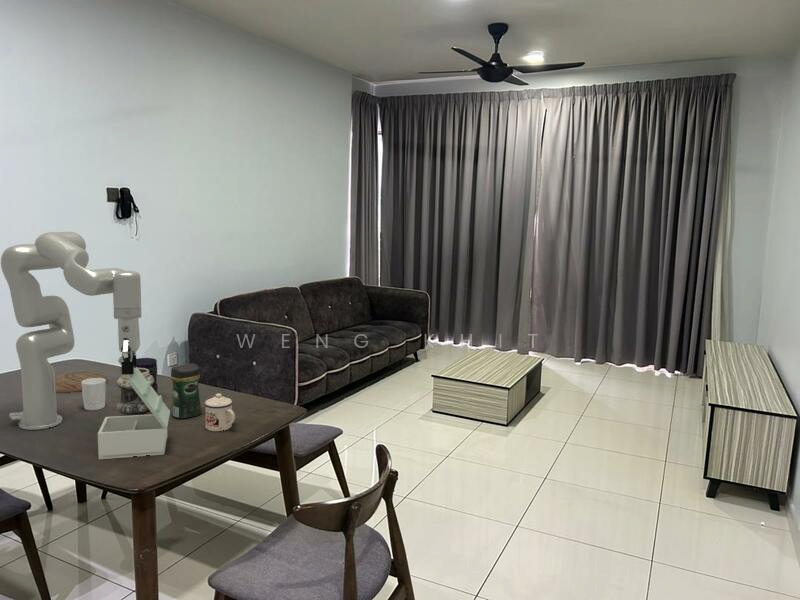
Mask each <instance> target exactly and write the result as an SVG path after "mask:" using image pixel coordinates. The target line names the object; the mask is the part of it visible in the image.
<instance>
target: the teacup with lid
mask: <svg viewBox="0 0 800 600" xmlns="http://www.w3.org/2000/svg"><path fill="white" fill-rule="evenodd" d="M232 405H233V400H232V399H231V398H229V397H225V396H222V393H216V394H215V396H213V397H211V398H209V399H206V400H205V401H204V406H205V408H204V410H205V411H204V412H205V414H204V415H205V419H204V420H205V421H204V422H205V423H204V424H205V429H207V431H210V432H223V430H224V431H226V430H229V429H231V428H232V424H233V423H234V422H235V419H236V414H235V411H234V410H233V406H232Z"/></svg>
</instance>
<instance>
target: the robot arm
mask: <svg viewBox="0 0 800 600" xmlns="http://www.w3.org/2000/svg"><path fill="white" fill-rule="evenodd" d="M34 241H35V242H34V243H25V244H17V245H12V246H9V247H7V248H6V249H5V250H4V251H3V252H2V255H1V256H0V268H1V272H2V273H3V274H2V275H3V276H4V279H5V280H6V282H7V286H8V288H9V291H10V298H11V303H12V307H13V312H14V316H15V320H16V322H17V324H18V325H19V326H20V327H22V328H36V327H40V326H41V327H42V326H47V325H48V326H49V328H45V329H38V330H33V331H30V332H29V331H28V332H25V333H23V334H21V335H19V337H18V338H17V340H16V343H15V349H16V353H17V356H18V360H19V364H20V375H21V376H20V377H21V388H22V390H21V391H22V392H21V393H22V407H23V410H22V411H19V412H9V415H8V417H9V419H11V421H17V420H18V421H19V422H18V427H19V428H21V429H23V430H26V431H27V430H29V431H31V430H32V431H34V430H37V431H38V430H45V429H49V427H50V428H52V427H55V426H59V425H60V424H61V423H62V422H63V416H62V415H60V414H58V413H57V412H58V409H57V394H56V385H55V375H56V372H55V368H54V367H53V365H52V364H51V363H50V362H49V360H48V359H49V358H54V357H58V356H63V355H65V354H69V353H70V352H71V351H72V350H73V349H74V347H75V334H74V329H73V324H72V320H71V314H70V310H69V306H68V305H67V303H66V301H65V300H64V299H63V298H62V297H60V296H59V295H46V296H45V295H44V296H43V293H42V291H41V284H40V283H39V281H38V279H36V278H37V277H35V275H33V274H32V273H31V272H30V271H40V270H51V269H52V270H53V269H58V268H60V269H61V270H63V271H62V272H63V273H62V274H63V276H64V277H63V278H64V279H65V281H66V283H67V285H69V287H71V288H72V289H74V290H76V291H78V292H79V293H81V294H83V295H86V296H89V297H90V296H91V297H94V296H100V295H109V294H112V296H113V299H112V300H113V318H114V319H115V320H117V329H118V330H117V334H118V335H117V336H118V337H117V338H118V339H117V340H118V350H119V352H120V353H121V356H122V362H121V364H122V366H121V376H122V375H129V374H133V373H134V368H136V359H137V354H136V352H138V350H139V349H140V346H141V341H140V340H141V338H140V336H141V334H140V323H139V319H140V318H142V284H141V282H142V281H141V275H140V272H138V271H133V270H125V269H123V268H119V267H111V268H110V267H109V268H100V269H99V268H97V269H86V268H87V266H88V264H89V260H90V259H89V258H90V257H89V252H87V250H86V249H87V244H86V241H85V239H84V238H83V236H82V235H81V234H79V233H77V232H74V231H50V232H49V231H48V232H45V233H42V234H40V235H38V237H37V238H36V239H35V240H34ZM121 364H120V365H121Z"/></svg>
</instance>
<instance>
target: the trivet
mask: <svg viewBox="0 0 800 600" xmlns="http://www.w3.org/2000/svg"><path fill="white" fill-rule="evenodd" d="M90 378H103V379H105V380H106V384H108V376H107V375H106V374H104V373H99V372H93V371H77V372H76V371H75V372H65V373H59V374H55V385H56V393H68V394H72V393H71V392H79V393H82V384H81V382H82V381H83V380H86V379H90Z"/></svg>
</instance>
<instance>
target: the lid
mask: <svg viewBox="0 0 800 600" xmlns="http://www.w3.org/2000/svg"><path fill="white" fill-rule="evenodd" d="M117 362H118V363H119V364H120V365H121V367H122V364H121V362H122V355H121V356H120V357H118V360H117ZM129 376H130V378H129V380H128V382H129V384H130V385H131V386H132V388H133V389H134V390H135V391H136V393H137V394H138V395H139V397H140V398H141V399H142V401H143V402H144V403H145V404H146V406H147V407H148V408H149V410H150V412H151V413H152V414H153V415H154V416H155V417H156V419H157V420H158V421H159V423H160V424H161V425H162V427H163V428H164V429H165V428H166V427H167V428H168V426H169V419H170V414H171V410H170V409H169V408H168V406H167V405H166V404H165V403H164V401H163V396H162V395H161V394H160V395H159V394H158V392H157V393H156V392H155V391H154V389H153V388H152V387H151V385H150V383H151V381H150V380H149V381H147V380H146V379H145V377H144V376H143V375H142V373H141V372H140V371H139V369H138V368H137V367H136V368H134V373H133V374H129Z"/></svg>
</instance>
